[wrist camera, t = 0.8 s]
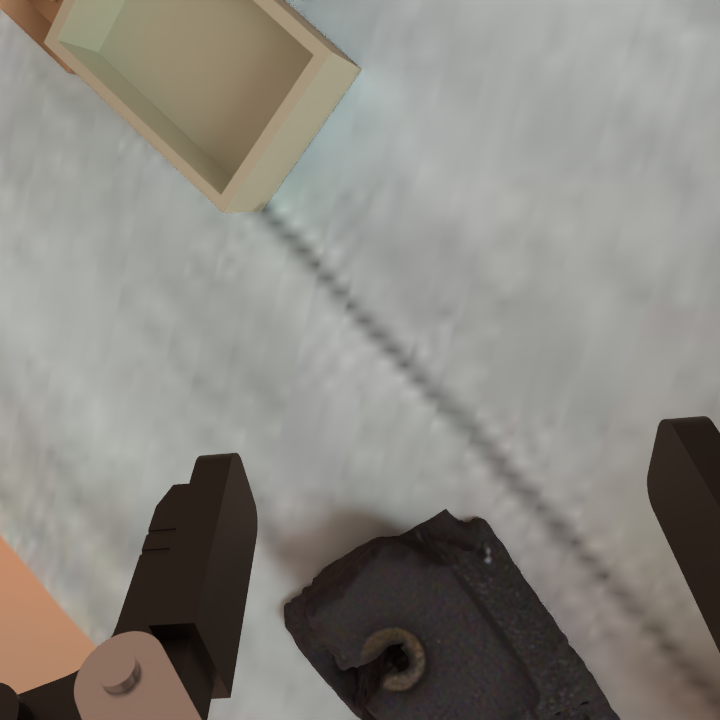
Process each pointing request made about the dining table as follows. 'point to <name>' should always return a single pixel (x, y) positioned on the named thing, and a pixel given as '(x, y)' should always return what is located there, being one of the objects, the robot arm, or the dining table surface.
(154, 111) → the tray
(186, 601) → the robot arm
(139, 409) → the dining table surface
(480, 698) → the dark slate chunk
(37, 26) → the rack
